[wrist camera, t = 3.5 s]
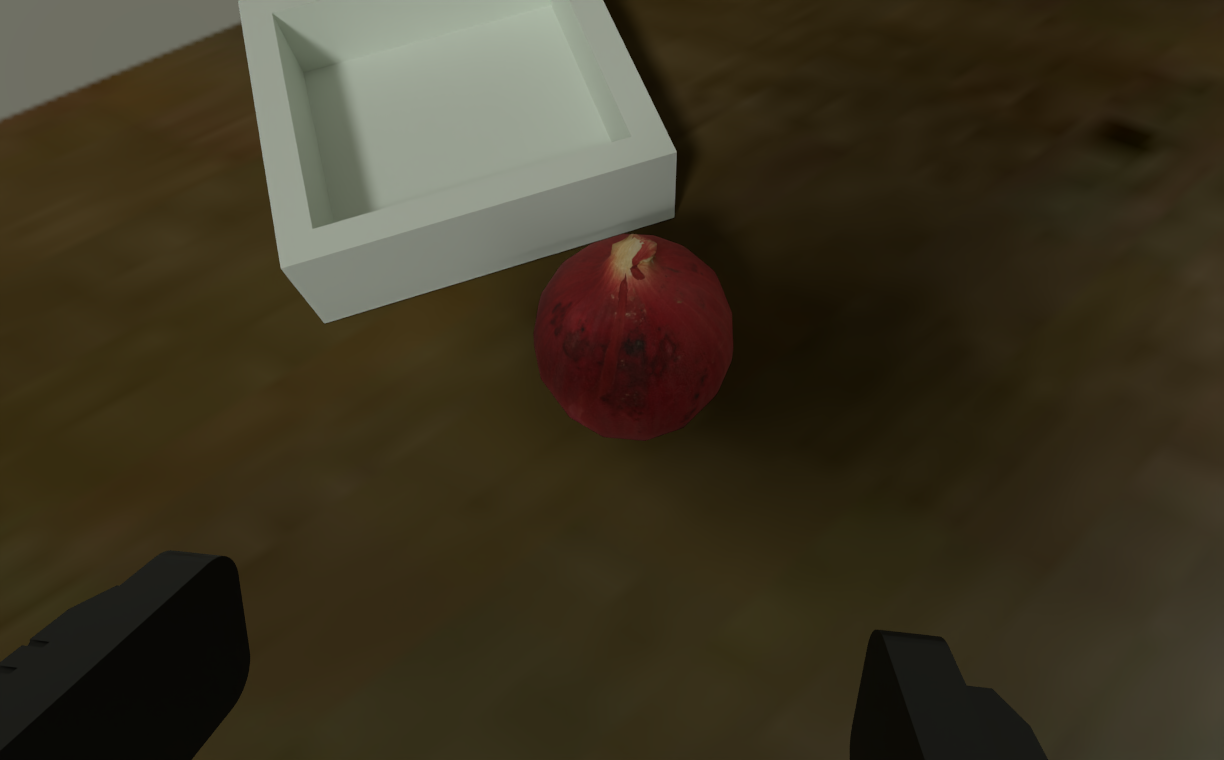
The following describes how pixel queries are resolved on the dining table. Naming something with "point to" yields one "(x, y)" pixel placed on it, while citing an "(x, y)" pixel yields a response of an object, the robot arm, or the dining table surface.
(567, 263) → the onion
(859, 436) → the dining table surface
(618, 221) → the bin
